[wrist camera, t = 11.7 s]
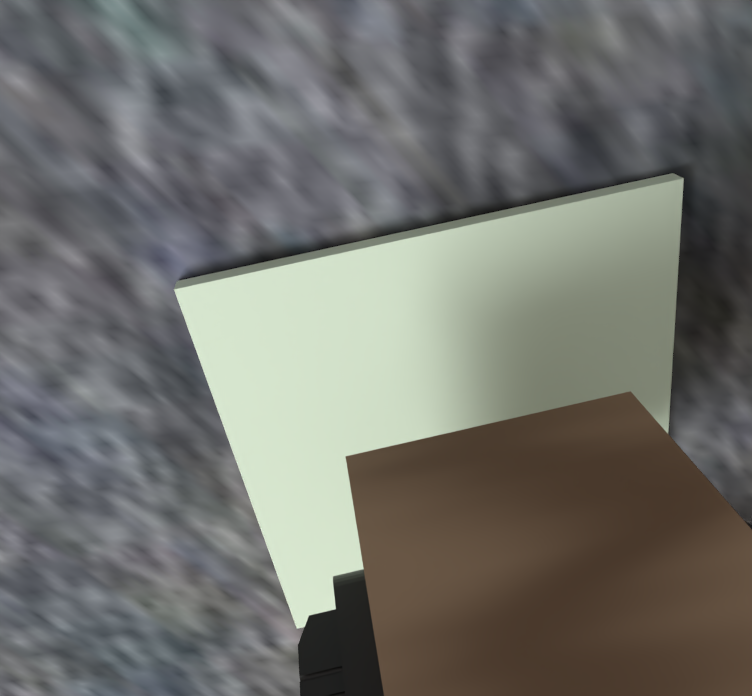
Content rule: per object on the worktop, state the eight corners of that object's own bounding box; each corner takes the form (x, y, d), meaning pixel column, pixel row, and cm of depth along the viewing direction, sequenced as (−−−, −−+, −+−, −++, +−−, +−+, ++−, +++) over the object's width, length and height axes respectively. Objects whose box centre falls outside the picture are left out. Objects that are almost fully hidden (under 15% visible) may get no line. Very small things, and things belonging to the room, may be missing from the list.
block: (630, 391, 11) (932, 736, 6) (625, 586, 14) (838, 949, 9) (345, 456, 11) (412, 867, 6) (391, 642, 14) (468, 1047, 9)
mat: (672, 173, 13) (683, 178, 13) (654, 531, 18) (661, 541, 18) (176, 281, 13) (174, 289, 13) (296, 616, 18) (297, 628, 18)
